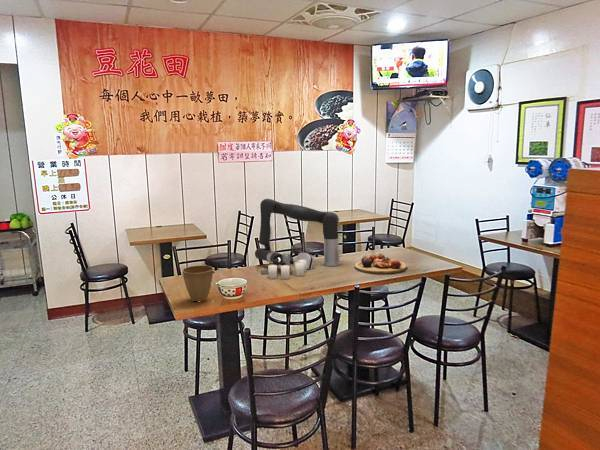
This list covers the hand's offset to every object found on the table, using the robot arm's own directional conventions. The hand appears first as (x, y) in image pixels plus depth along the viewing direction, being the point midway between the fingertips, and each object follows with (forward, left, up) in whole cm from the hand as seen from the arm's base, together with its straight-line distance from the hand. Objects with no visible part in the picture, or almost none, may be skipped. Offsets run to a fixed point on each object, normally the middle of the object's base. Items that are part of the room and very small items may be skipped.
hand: (288, 263), depth 257 cm
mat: (+12, -9, -7) cm, 17 cm away
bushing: (+1, -2, -7) cm, 7 cm away
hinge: (-12, -17, -7) cm, 22 cm away
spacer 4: (-9, -5, -7) cm, 13 cm away
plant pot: (+50, +34, -7) cm, 61 cm away
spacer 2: (+3, +6, -7) cm, 10 cm away
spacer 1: (+10, +3, -7) cm, 12 cm away
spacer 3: (-6, +2, -7) cm, 9 cm away
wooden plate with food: (-57, -2, -8) cm, 58 cm away
